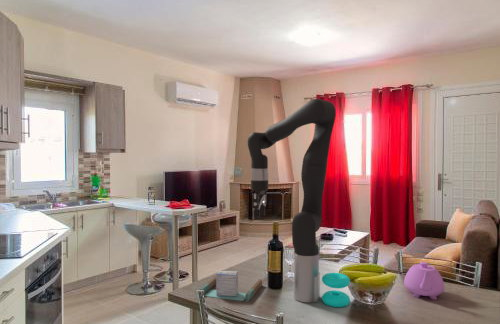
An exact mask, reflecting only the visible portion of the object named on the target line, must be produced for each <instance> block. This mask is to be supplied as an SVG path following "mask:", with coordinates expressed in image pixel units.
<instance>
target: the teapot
mask: <svg viewBox="0 0 500 324" xmlns="http://www.w3.org/2000/svg"><path fill="white" fill-rule="evenodd" d="M403 283H404V287H405V288H406V289H407V290H408V291H409V292H411V293H412V297H413V298H417V299H418V298H420V296H424V297H429V299H431V300H433V301H434V300H438V298H437V297H438V296H440V295H441V294H442V293H443V292H444V291H445V283H444V279H443V277H442V275H441V274H440V272H439V271H438V270H437V268H436V267H435V266H433V265H430V264H429V263H428V262H426V261H420V262H419V263H416V264H412V266H411V267H409V269H408V270H407V272H406V274H405V276H404V282H403Z"/></svg>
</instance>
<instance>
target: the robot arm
mask: <svg viewBox="0 0 500 324" xmlns="http://www.w3.org/2000/svg"><path fill="white" fill-rule="evenodd" d="M336 114H337V110H336V106H335V104H334V103H332V102H331V101H330V100H329V101H328V100H325V99H320V98H313V99H311V100H309V101H308V102H307V103H305V104H303V105H302V106H301V107H300V108H298V109H297V110H296V111H294V112H293V113H291V114H290V115H288V116H287V117H286V118H283V119H282V120H280V121H278V122H276V123H274V124H272V125H270V126H269V127H267V128H266V130H265V132H259V131H258V132H252V133H250V134H249V136H248V137H247V148H248V151H249V156H250V159H251V161H250V162H251V171H250V190H251V191H254V193H252V194H251V208H252V209H253V218H254V219H255V220H257V219H260V218H261V217H260V216H265V215H266V206H267V204H268V203H267V202H268V200H267V199H268V198H267V191H268V190H269V169H268V167H269V165H268V163H269V160H268V156H267V155H266V154H263V152H262V150H266V149H268V148H271V147H272V146H274V145H275V144H276V143H277V142H280V141H282V140H284V139H286V138H289V136H291V135H292V134H294V132H295V131H296V130H297V129H299V128H302V127H303V126H306V125H310V124H313V125H314V133H313V137H312V141H311V142H310V144H309V146H308V147H307V149H306V151H305V154H304V156H303V159H302V166H301V172H300V173H301V175H300V176H301V178H300V179H301V185H302V186H301V187H302V190H303V200H302V201H303V202H302V205H301V210H300V212H298V213H297V214H295V215H293V218H292V223H291V236H292V246H293V250H294V252H293V254H294V258H293V259H294V260H293V264H294V265H293V266H294V267H293V268H294V269H293V270H294V272H293V273H294V274H293V275H294V279H293V280H294V281H293V283H294V288H293V289H294V290H293V295H294V296H293V297H294V299H295V300H296V301H297V302H301V303H306V304H307V303H318V302H319V299H320V294H321V293H320V291H321V289H320V288H321V286H320V284H321V282H320V276H321V275H320V271H319V270H320V269H319V268H320V266H319V265H320V262H319V261H320V249H319V248H320V247H319V245H318V244H317V237H316V236H317V232H318V231H319V229H320V228H321V226H322V225H321V224H322V210H323V209H322V206H323V205H322V204H323V194H324V189H325V184H326V176H327V170H328V160H329V154H330V153H329V151H330V146H331V138H332V135H333V129H334V125H335V120H336V116H337V115H336Z"/></svg>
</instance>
